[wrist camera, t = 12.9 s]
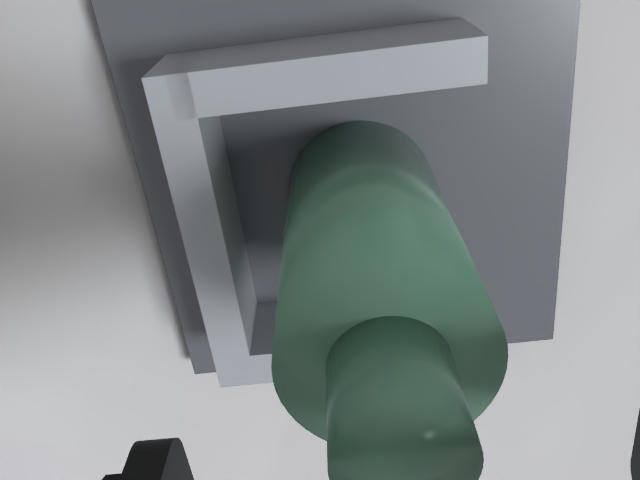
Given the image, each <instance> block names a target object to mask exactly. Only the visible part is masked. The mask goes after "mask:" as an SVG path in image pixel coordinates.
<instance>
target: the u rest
mask: <svg viewBox="0 0 640 480" xmlns="http://www.w3.org/2000/svg"><path fill="white" fill-rule="evenodd" d="M91 3H92V7H93V10H94V14H95V17H96V21H97V24H98V28H99V32H100V35H101V39H102V42H103V46H104V50H105V53H106V57H107V60H108V64H109V68H110V71H111V75H112V78H113V82H114V86H115V89H116V93H117V96H118V100H119V103H120V107H121V111H122V114H123V118H124V121H125V125H126V129H127V132H128V136H129V139H130V143H131V147H132V150H133V154H134V157H135V161H136V164H137V168H138V172H139V175H140V179H141V182H142V186H143V190H144V193H145V197H146V200H147V204H148V208H149V211H150V215H151V218H152V222H153V225H154V229H155V233H156V236H157V240H158V243H159V247H160V251H161V254H162V258H163V261H164V265H165V269H166V272H167V276H168V279H169V283H170V287H171V290H172V294H173V297H174V301H175V304H176V308H177V312H178V315H179V319H180V322H181V326H182V330H183V333H184V337H185V340H186V344H187V348H188V351H189V355H190V358H191V362H192V365H193V369H194V373H195V374H200V373H210V372H217V376H218V380H219V383H220V387H229V386H240V385H250V384H261V383H271V382H273V379H272V370H271V362H272V349H273V339H274V328H275V318H276V308H277V297H278V287H279V277H280V266H281V256H282V246H283V236H284V225H285V215H286V205H287V194H288V184H289V178H290V173H291V170H292V167H293V164H294V162H295V160H296V158H297V156H298V155H299V153H300V152H301V151H302V149H303V148H304V147H305V146H306V145H307V144H308V143H309V141H311V140H312V139H313V138H314V137H316V136H317V135H318V134H320V133H321V132H323V131H325V130H327V129H329V128H331V127H333V126H336V125H339V124H342V123H346V122H352V121H374V122H379V123H383V124H386V125H389V126H392V127H394V128H396V129H398V130H400V131H401V132H403V133H404V134H406V135H407V136H409V137H410V138H411V139H412V140H413V141H414V142H415V143H416V144H417V145H418V147H419V148H420V149H421V151H422V152H423V154H424V156H425V157H426V160H427V162H428V164H429V166H430V168H431V171H432V173H433V175H434V177H435V179H436V182H437V184H438V186H439V188H440V190H441V192H442V195H443V197H444V199H445V201H446V203H447V206H448V208H449V210H450V212H451V214H452V217H453V219H454V221H455V223H456V225H457V228H458V230H459V232H460V234H461V236H462V239H463V241H464V243H465V245H466V247H467V250H468V252H469V254H470V256H471V258H472V261H473V263H474V265H475V267H476V269H477V272H478V274H479V276H480V278H481V280H482V283H483V285H484V287H485V289H486V291H487V293H488V296H489V298H490V300H491V302H492V304H493V307H494V309H495V311H496V313H497V315H498V318H499V320H500V322H501V325H502V327H503V329H504V332H505V336H506V340H507V343H517V342H528V341H538V340H548V339H553V332H554V319H555V307H556V295H557V282H558V270H559V258H560V246H561V233H562V221H563V209H564V196H565V184H566V172H567V159H568V147H569V135H570V122H571V110H572V98H573V86H574V73H575V61H576V49H577V36H578V24H579V12H580V0H91Z"/></svg>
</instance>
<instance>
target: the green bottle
mask: <svg viewBox="0 0 640 480" xmlns="http://www.w3.org/2000/svg"><path fill="white" fill-rule="evenodd" d="M507 361H508V346H507V340H506V336H505V332H504V329H503V327H502V325H501V322H500V320H499V318H498V315H497V313H496V311H495V309H494V307H493V304H492V302H491V300H490V298H489V296H488V293H487V291H486V289H485V287H484V285H483V283H482V280H481V278H480V276H479V274H478V272H477V269H476V267H475V265H474V263H473V261H472V258H471V256H470V254H469V252H468V250H467V247H466V245H465V243H464V241H463V239H462V236H461V234H460V232H459V230H458V228H457V225H456V223H455V221H454V219H453V217H452V214H451V212H450V210H449V208H448V206H447V203H446V201H445V199H444V197H443V195H442V192H441V190H440V188H439V186H438V184H437V182H436V179H435V177H434V175H433V173H432V171H431V168H430V166H429V164H428V162H427V160H426V157H425V156H424V154H423V152H422V151H421V149H420V148H419V147H418V145H417V144H416V143H415V142H414V141H413V140H412V139H411V138H410V137H409V136H407V135H406V134H404V133H403V132H401V131H400V130H398V129H396V128H394V127H392V126H389V125H386V124H383V123H379V122H374V121H352V122H346V123H342V124H339V125H336V126H333V127H331V128H329V129H327V130H325V131H323V132H321V133H320V134H318V135H317V136H316V137H314V138H313V139H312V140H311V141H309V143H308V144H307V145H306V146H305V147H304V148H303V149H302V151H301V152H300V153H299V155H298V156H297V158H296V160H295V162H294V164H293V167H292V170H291V173H290V178H289V184H288V194H287V205H286V215H285V225H284V236H283V246H282V256H281V266H280V277H279V287H278V297H277V308H276V318H275V328H274V339H273V349H272V362H271V370H272V379H273V383H274V386H275V390H276V392H277V394H278V396H279V399H280V401H281V403H282V404H283V405H284V407H285V408H286V410H287V411H288V413H289V414H290V415H291V416H292V417H293V418H294V419H295V420H296V421H297V422H298V423H299V424H300V425H302V426H303V427H304V428H305V429H306V430H308V431H310V432H311V433H313V434H314V435H316V436H318V437H320V438H322V439H324V440H326V441H327V459H328V475H329V479H330V480H478V479H479V477H480V475H481V472H482V468H483V461H484V459H483V451H482V447H481V444H480V441H479V438H478V435H477V431H476V428H475V425H474V422H473V421H474V420H475V419H476V418H477V417H478V416H479V415H481V414H482V413H483V412H484V410H485V409H486V408H487V407H488V406H489V404H490V403H491V402H492V400H493V399H494V397H495V396H496V394H497V393H498V391H499V389H500V386H501V384H502V382H503V379H504V376H505V373H506V369H507Z"/></svg>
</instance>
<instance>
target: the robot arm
mask: <svg viewBox="0 0 640 480" xmlns="http://www.w3.org/2000/svg"><path fill="white" fill-rule="evenodd" d="M631 475H632V480H640V410H639V416H638V422H637V428H636V433H635V439H634V445H633V451H632V457H631ZM102 480H194V478H193V475H192V472H191V469H190V466H189V463H188V460H187V456H186V453H185V450H184V447H183V444H182V442H181V440H180V439H179V438H168V439H157V440H145V441H137V442H135V443H134V444H133V446H132V448H131V450H130V452H129V455H128V458H127V461H126V464H125V466H124V469H123V472H122V474H111V475H105V477H104V478H103V479H102Z"/></svg>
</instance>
